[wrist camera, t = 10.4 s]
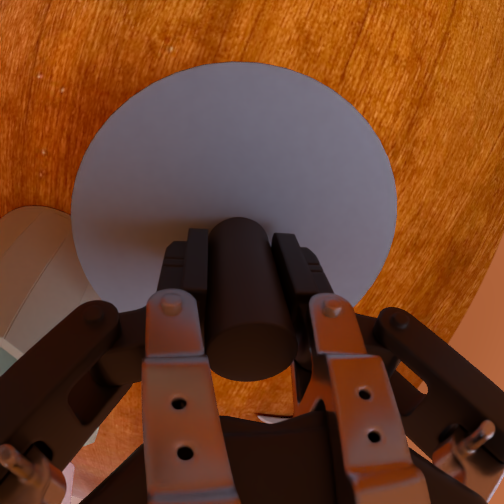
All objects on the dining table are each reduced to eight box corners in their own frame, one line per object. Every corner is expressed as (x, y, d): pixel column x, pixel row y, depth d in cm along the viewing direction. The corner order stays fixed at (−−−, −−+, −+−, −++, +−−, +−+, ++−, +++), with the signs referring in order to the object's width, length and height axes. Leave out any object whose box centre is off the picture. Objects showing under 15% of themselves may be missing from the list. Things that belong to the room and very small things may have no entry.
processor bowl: (15, 330, 23) (-25, 421, 14) (-27, 206, 16) (-112, 293, 7) (136, 346, 25) (119, 460, 16) (117, 205, 18) (50, 331, 9)
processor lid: (104, 334, 16) (77, 439, 10) (74, 64, 9) (-46, 79, 3) (341, 340, 18) (377, 435, 12) (416, 99, 11) (538, 143, 5)
